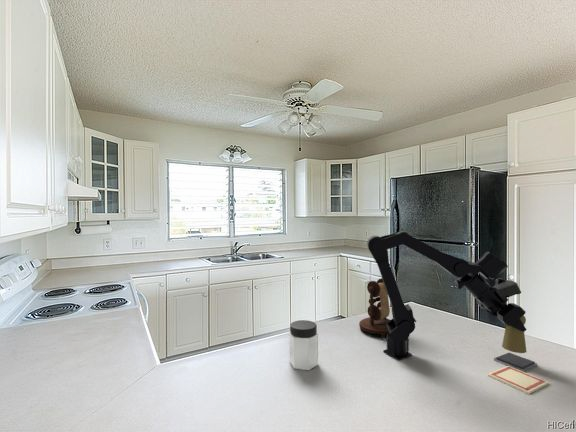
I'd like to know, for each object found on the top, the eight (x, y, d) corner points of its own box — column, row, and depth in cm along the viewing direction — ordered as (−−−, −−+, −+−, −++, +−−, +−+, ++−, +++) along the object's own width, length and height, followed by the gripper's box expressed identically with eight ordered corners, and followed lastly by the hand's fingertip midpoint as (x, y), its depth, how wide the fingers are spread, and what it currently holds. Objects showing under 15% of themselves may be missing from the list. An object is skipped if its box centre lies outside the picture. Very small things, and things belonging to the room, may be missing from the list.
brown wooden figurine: (385, 341, 110) (385, 286, 110) (351, 330, 121) (351, 279, 121) (405, 331, 120) (405, 279, 120) (372, 321, 131) (372, 274, 131)
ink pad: (523, 371, 88) (523, 368, 88) (493, 360, 96) (493, 357, 96) (537, 365, 92) (537, 362, 92) (508, 354, 99) (508, 351, 99)
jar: (286, 358, 98) (286, 321, 97) (310, 355, 100) (310, 318, 100) (295, 372, 89) (295, 331, 89) (321, 368, 91) (321, 328, 91)
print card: (528, 394, 78) (528, 391, 78) (487, 375, 87) (487, 373, 87) (548, 383, 82) (548, 381, 82) (507, 367, 91) (507, 365, 91)
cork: (522, 355, 90) (523, 317, 89) (498, 347, 95) (500, 311, 94) (529, 349, 93) (530, 313, 93) (506, 342, 98) (507, 308, 98)
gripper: (517, 278, 85) (563, 320, 83) (487, 266, 103) (524, 301, 102) (486, 304, 87) (529, 347, 85) (461, 288, 105) (497, 323, 103)
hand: (520, 327), depth 93 cm, fingers closed on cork, 5 cm apart
